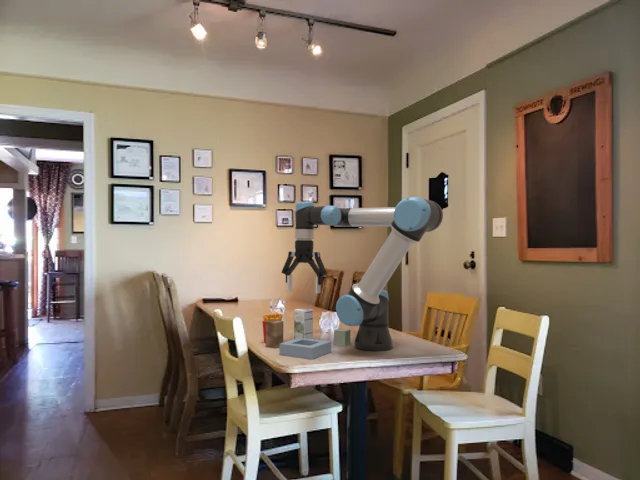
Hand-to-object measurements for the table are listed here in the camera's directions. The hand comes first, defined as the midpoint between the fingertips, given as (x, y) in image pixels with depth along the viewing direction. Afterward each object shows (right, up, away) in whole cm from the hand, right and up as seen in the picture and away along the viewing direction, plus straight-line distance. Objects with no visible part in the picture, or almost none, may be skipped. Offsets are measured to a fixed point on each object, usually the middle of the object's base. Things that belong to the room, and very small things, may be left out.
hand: (303, 292), depth 196 cm
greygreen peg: (+16, -22, +1) cm, 27 cm away
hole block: (+1, -21, -16) cm, 27 cm away
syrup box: (0, -22, 0) cm, 22 cm away
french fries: (-13, -22, +5) cm, 26 cm away
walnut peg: (-11, -21, -4) cm, 24 cm away
